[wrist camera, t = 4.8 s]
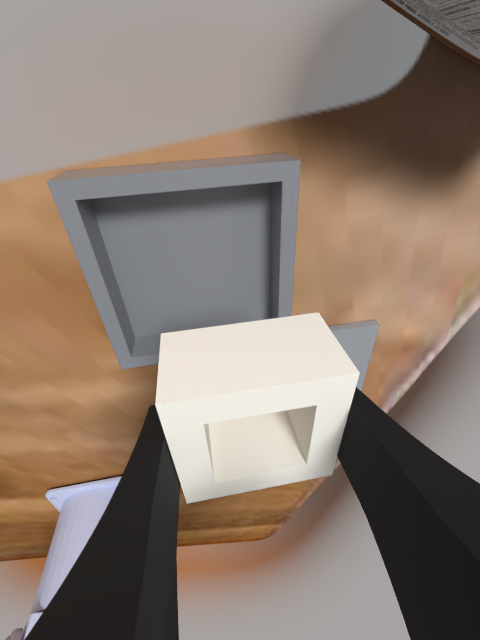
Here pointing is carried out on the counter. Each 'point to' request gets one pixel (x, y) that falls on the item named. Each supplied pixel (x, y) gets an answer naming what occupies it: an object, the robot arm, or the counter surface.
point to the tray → (182, 244)
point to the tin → (446, 22)
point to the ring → (253, 403)
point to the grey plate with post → (357, 343)
